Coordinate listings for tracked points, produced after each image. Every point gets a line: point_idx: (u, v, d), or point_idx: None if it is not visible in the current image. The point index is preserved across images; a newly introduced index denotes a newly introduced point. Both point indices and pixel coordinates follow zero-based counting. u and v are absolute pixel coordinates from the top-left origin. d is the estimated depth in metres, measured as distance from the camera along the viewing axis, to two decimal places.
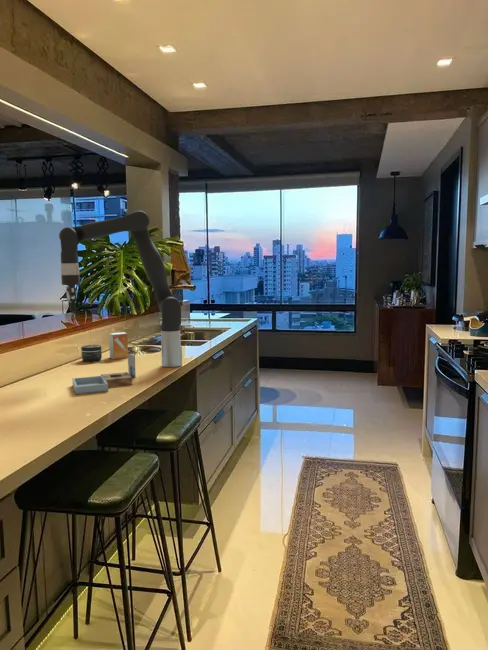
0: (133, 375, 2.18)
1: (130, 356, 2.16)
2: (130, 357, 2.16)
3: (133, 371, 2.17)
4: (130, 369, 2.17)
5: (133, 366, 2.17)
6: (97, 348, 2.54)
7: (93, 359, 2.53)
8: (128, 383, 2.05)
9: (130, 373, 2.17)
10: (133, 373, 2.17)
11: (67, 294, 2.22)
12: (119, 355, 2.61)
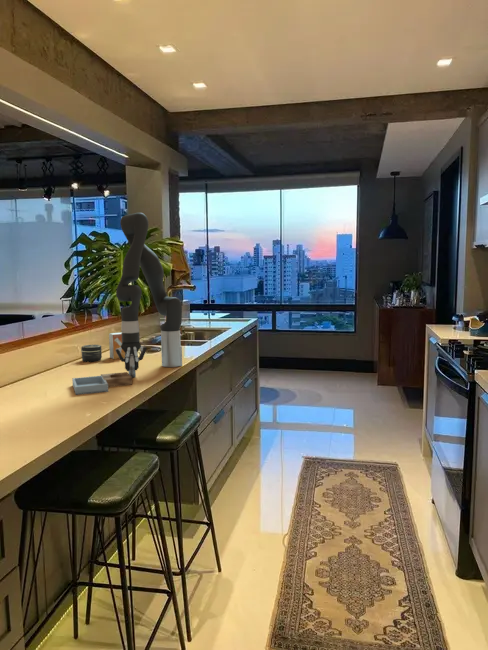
0: (133, 375, 2.18)
1: (130, 356, 2.16)
2: (130, 357, 2.16)
3: (133, 371, 2.17)
4: (130, 369, 2.17)
5: (133, 366, 2.17)
6: (97, 348, 2.54)
7: (93, 359, 2.53)
8: (128, 383, 2.05)
9: (130, 373, 2.17)
10: (133, 373, 2.17)
11: (129, 352, 2.16)
12: None
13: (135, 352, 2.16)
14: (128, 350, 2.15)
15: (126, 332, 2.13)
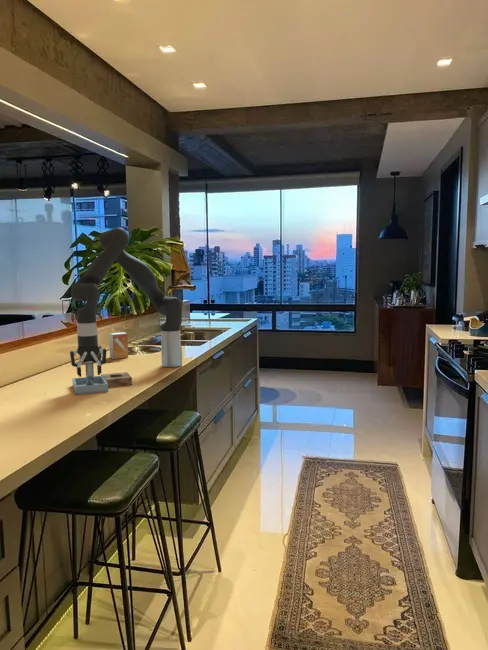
0: None
1: (88, 364, 1.97)
2: (88, 365, 1.97)
3: (91, 380, 1.98)
4: (88, 378, 1.98)
5: (91, 375, 1.98)
6: None
7: (93, 359, 2.53)
8: (128, 383, 2.05)
9: (88, 382, 1.98)
10: (91, 382, 1.98)
11: (84, 357, 1.96)
12: (119, 355, 2.61)
13: (94, 356, 1.97)
14: (84, 355, 1.96)
15: (82, 335, 1.93)
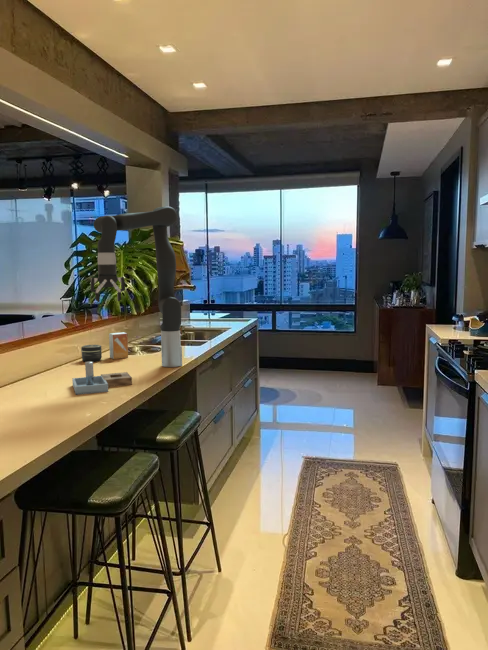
0: None
1: (87, 364, 1.97)
2: (87, 365, 1.97)
3: (91, 380, 1.98)
4: (88, 378, 1.98)
5: (91, 375, 1.98)
6: (97, 348, 2.54)
7: (93, 359, 2.53)
8: (128, 383, 2.05)
9: (88, 382, 1.98)
10: (91, 382, 1.98)
11: (103, 285, 2.13)
12: (119, 355, 2.61)
13: (114, 284, 2.15)
14: (103, 282, 2.13)
15: (102, 263, 2.11)
